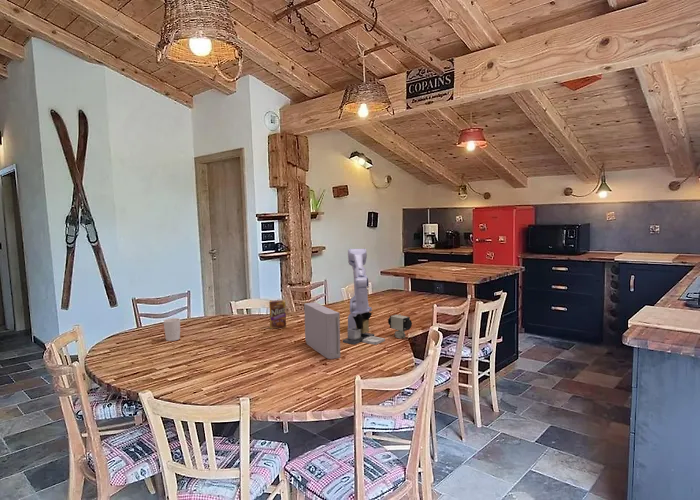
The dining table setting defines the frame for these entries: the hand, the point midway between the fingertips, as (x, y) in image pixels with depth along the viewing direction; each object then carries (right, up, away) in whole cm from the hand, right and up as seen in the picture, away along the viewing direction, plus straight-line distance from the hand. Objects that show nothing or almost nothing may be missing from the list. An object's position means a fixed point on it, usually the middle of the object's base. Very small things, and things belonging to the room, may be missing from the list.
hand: (362, 327), depth 227 cm
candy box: (-46, -4, +25) cm, 52 cm away
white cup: (-97, -7, +6) cm, 97 cm away
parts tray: (+5, -6, -6) cm, 10 cm away
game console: (-19, -8, -18) cm, 27 cm away
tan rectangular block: (0, -2, 0) cm, 2 cm away
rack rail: (-2, -6, -2) cm, 6 cm away
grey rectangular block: (-4, -6, -5) cm, 9 cm away
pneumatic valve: (+19, -5, +1) cm, 20 cm away
